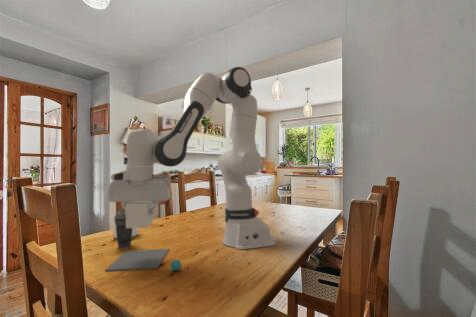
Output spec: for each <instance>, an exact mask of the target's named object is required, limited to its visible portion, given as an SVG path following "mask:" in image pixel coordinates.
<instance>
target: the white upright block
mask: <svg viewBox="0 0 476 317" xmlns="http://www.w3.org/2000/svg"><path fill="white" fill-rule="evenodd" d="M153 206H154V204H152V201H138V202H128V204H126V228H138V229H147V228H148V227H149V226H151V225H152V224H153V222H154V221H153V218H154V217H153V216H154V214H149V209H151V208H152V207H153Z"/></svg>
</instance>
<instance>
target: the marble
mask: <svg viewBox="0 0 476 317" xmlns="http://www.w3.org/2000/svg"><path fill="white" fill-rule="evenodd" d="M181 266H182V262H181V260H180V259H174V260H172V261H171V262H170V270H172V271H173V272H178V271H179V270H180V269H181Z"/></svg>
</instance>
